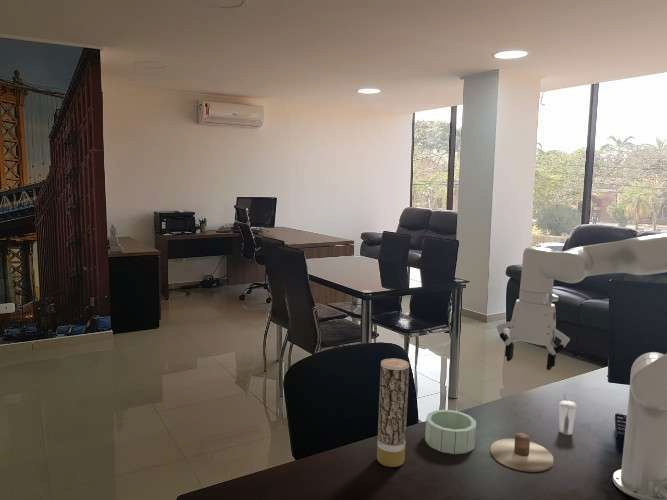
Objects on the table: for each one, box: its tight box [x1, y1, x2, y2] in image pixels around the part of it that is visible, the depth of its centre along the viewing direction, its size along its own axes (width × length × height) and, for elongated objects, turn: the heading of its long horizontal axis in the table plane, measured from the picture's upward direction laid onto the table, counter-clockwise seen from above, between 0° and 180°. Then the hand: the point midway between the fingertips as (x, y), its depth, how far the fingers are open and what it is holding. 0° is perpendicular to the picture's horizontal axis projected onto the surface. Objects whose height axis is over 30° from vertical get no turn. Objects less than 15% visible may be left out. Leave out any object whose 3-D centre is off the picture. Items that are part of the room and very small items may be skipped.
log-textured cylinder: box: [376, 358, 410, 468], centre depth 128 cm, size 7×7×25 cm
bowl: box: [424, 409, 477, 455], centre depth 140 cm, size 13×13×6 cm
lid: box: [490, 432, 554, 473], centre depth 133 cm, size 15×15×6 cm
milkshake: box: [558, 393, 578, 436], centre depth 147 cm, size 4×5×10 cm
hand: (529, 364), depth 131 cm, fingers open, 9 cm apart
